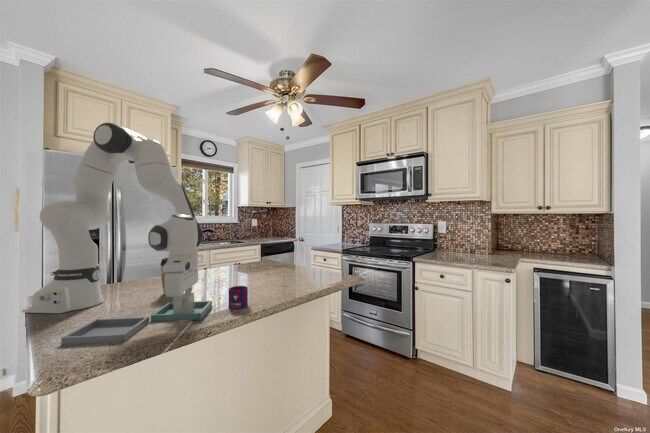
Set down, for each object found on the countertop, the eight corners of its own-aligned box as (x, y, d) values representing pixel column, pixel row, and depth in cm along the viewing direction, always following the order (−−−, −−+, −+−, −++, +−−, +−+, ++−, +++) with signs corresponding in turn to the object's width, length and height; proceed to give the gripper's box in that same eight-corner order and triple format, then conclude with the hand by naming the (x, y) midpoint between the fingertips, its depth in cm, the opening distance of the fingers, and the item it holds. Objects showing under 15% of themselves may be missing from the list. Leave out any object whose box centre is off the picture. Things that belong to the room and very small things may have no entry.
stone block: (173, 315, 92) (173, 297, 92) (179, 310, 96) (179, 293, 96) (189, 315, 92) (189, 297, 92) (194, 309, 97) (194, 292, 97)
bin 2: (150, 323, 87) (150, 315, 87) (168, 309, 100) (168, 302, 100) (201, 320, 89) (201, 313, 89) (212, 307, 102) (212, 300, 102)
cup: (226, 309, 99) (226, 290, 99) (234, 300, 109) (234, 283, 109) (245, 309, 100) (244, 290, 99) (251, 300, 110) (251, 283, 109)
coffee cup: (186, 290, 124) (186, 257, 124) (174, 296, 116) (174, 260, 115) (168, 290, 125) (168, 257, 125) (155, 295, 116) (155, 260, 116)
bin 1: (61, 347, 71) (61, 338, 71) (96, 327, 84) (96, 319, 84) (124, 343, 73) (124, 334, 73) (149, 324, 86) (149, 316, 86)
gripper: (185, 257, 104) (185, 294, 104) (160, 267, 84) (160, 313, 84) (202, 257, 105) (202, 293, 105) (182, 267, 85) (182, 312, 85)
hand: (183, 302), depth 94 cm, fingers open, 6 cm apart
